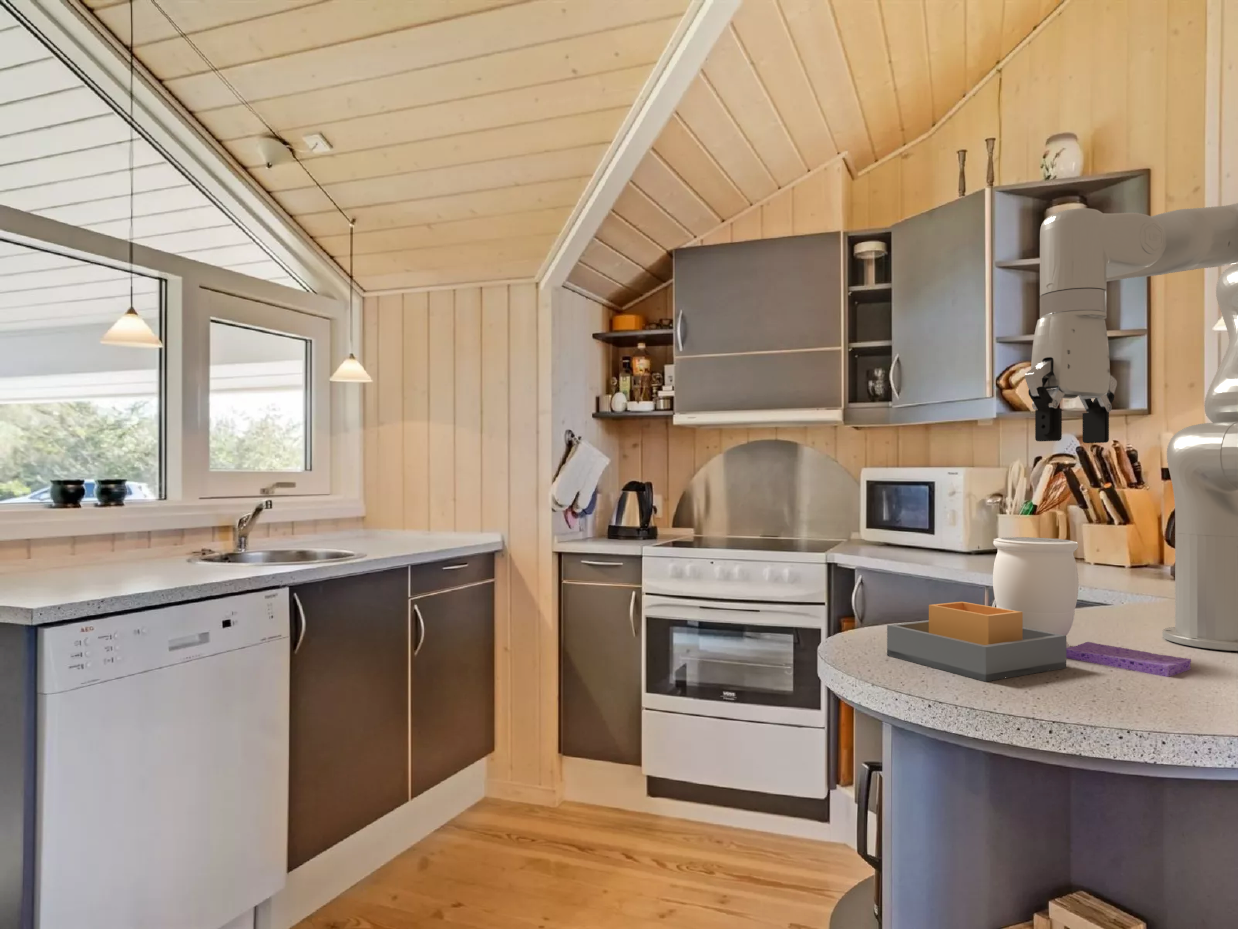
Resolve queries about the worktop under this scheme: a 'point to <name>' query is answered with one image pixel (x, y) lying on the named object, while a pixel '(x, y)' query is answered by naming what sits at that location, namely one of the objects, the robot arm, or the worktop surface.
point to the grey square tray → (977, 652)
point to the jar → (1037, 581)
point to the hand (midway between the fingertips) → (1072, 441)
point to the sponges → (1129, 659)
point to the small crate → (975, 623)
